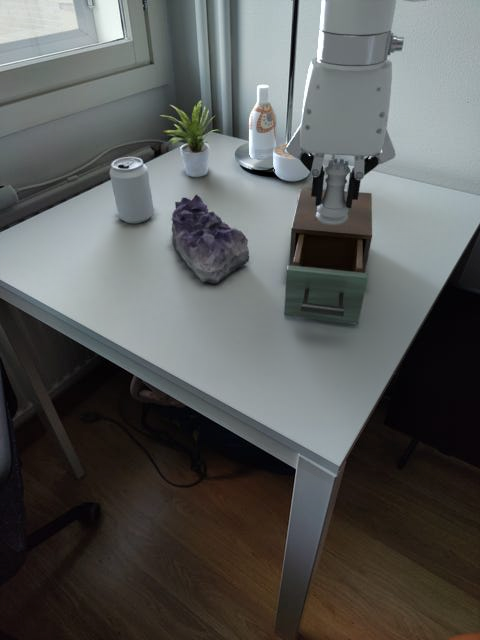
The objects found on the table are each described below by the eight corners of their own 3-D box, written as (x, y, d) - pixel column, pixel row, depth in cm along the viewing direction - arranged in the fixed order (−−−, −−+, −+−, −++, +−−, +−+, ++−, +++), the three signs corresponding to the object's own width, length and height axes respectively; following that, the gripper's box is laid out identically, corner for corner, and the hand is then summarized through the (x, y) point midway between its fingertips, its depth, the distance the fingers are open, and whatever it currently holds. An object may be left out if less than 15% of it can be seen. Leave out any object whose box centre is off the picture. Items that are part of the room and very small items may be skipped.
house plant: (174, 158, 122) (166, 92, 111) (226, 159, 121) (223, 92, 110) (162, 181, 111) (152, 111, 101) (218, 183, 110) (215, 111, 99)
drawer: (357, 345, 67) (367, 298, 61) (279, 335, 69) (282, 289, 63) (359, 273, 80) (367, 229, 75) (293, 266, 82) (297, 223, 76)
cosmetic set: (344, 185, 108) (356, 100, 96) (320, 199, 103) (330, 111, 91) (264, 157, 121) (266, 79, 109) (240, 168, 116) (238, 88, 104)
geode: (150, 242, 91) (148, 193, 85) (202, 232, 97) (203, 185, 91) (200, 291, 78) (201, 237, 72) (256, 276, 83) (262, 224, 77)
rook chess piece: (327, 207, 67) (334, 153, 61) (354, 218, 64) (363, 162, 59) (308, 219, 64) (313, 163, 59) (335, 230, 62) (343, 173, 57)
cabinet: (361, 289, 79) (372, 235, 72) (287, 281, 81) (291, 228, 74) (362, 244, 89) (371, 193, 82) (297, 238, 91) (301, 187, 84)
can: (112, 217, 99) (99, 162, 91) (140, 204, 103) (130, 151, 95) (133, 229, 95) (122, 173, 87) (161, 215, 99) (153, 161, 91)
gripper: (427, 42, 52) (395, 194, 64) (282, 40, 55) (276, 186, 67) (435, 58, 46) (397, 221, 59) (273, 54, 49) (269, 211, 61)
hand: (333, 201), depth 63 cm, fingers closed on rook chess piece, 3 cm apart
